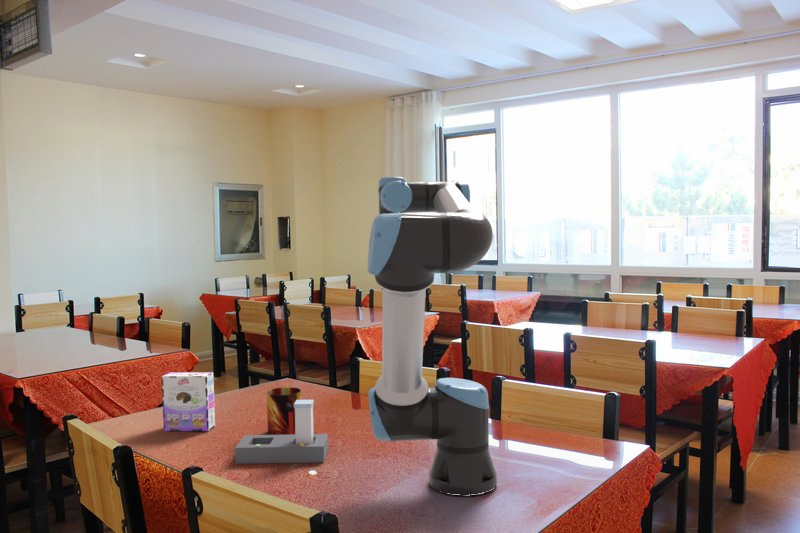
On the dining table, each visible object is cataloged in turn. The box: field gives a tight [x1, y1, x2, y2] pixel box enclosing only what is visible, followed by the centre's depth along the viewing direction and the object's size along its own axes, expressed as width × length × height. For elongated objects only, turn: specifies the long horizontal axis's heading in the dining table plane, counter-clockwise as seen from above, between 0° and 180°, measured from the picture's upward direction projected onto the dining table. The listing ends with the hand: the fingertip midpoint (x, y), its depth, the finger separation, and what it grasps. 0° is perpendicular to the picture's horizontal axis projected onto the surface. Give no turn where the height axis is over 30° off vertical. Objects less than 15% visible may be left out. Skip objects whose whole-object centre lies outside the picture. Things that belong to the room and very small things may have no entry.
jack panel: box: [234, 433, 329, 464], centre depth 163 cm, size 10×22×4 cm, turn 90°
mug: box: [266, 386, 302, 435], centre depth 182 cm, size 10×14×12 cm
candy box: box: [161, 371, 216, 432], centre depth 188 cm, size 14×6×16 cm, turn 84°
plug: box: [294, 399, 315, 444], centre depth 163 cm, size 4×4×14 cm
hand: (394, 315), depth 170 cm, fingers open, 13 cm apart
